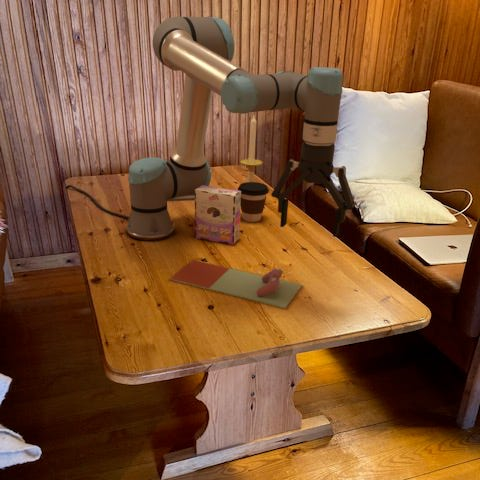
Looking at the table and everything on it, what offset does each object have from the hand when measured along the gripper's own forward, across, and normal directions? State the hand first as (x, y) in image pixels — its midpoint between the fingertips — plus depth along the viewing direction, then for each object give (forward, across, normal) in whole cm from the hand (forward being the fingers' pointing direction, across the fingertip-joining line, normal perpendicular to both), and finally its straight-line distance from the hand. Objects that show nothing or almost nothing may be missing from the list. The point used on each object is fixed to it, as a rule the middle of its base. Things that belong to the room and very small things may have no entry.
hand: (309, 230), depth 132 cm
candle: (+19, -42, +65) cm, 79 cm away
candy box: (+19, -37, +26) cm, 49 cm away
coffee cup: (+19, -34, +48) cm, 62 cm away
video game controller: (+19, -9, 0) cm, 21 cm away
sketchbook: (+18, -73, +66) cm, 100 cm away
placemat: (+19, -19, 0) cm, 27 cm away
